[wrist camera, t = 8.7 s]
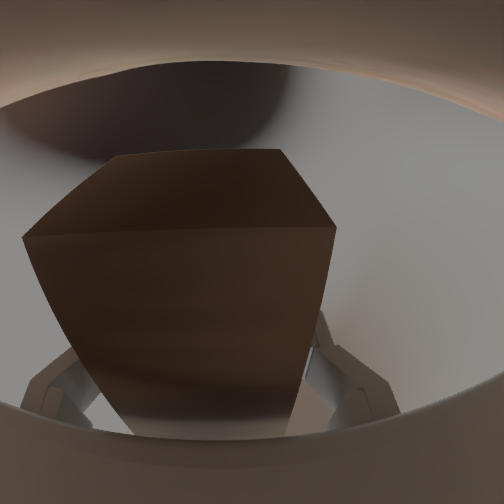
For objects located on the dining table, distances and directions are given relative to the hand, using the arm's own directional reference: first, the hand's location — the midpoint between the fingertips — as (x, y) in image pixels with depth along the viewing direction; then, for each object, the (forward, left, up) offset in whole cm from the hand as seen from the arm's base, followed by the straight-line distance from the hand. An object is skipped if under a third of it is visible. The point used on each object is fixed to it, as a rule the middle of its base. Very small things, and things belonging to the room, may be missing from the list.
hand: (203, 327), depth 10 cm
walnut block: (0, +1, -6) cm, 6 cm away
